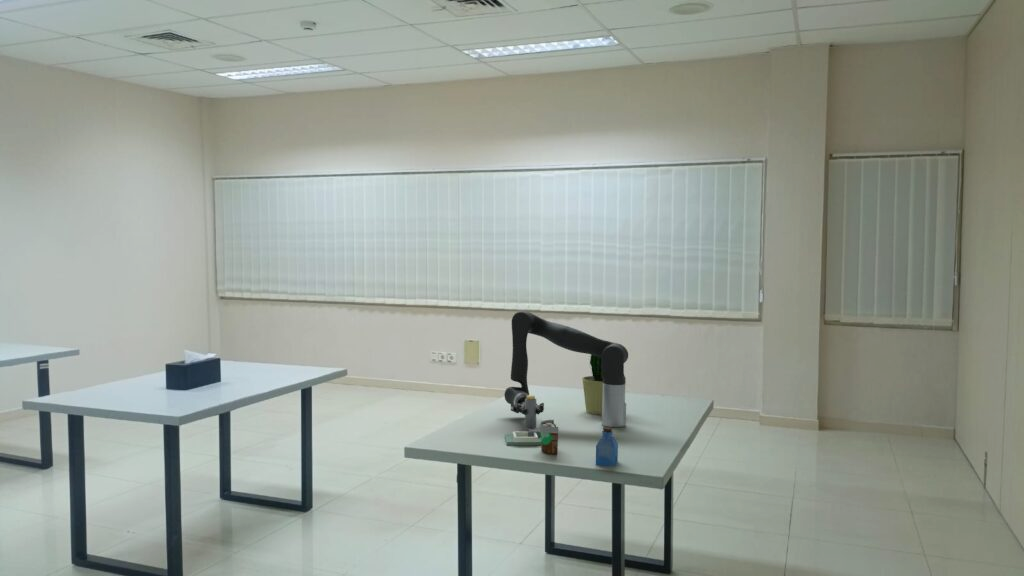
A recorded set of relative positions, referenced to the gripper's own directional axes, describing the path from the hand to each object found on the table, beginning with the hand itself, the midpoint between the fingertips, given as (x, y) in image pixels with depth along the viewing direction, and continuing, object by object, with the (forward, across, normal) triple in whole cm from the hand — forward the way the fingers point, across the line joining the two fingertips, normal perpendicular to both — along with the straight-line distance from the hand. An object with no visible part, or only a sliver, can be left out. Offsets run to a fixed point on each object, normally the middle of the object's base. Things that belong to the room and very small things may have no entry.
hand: (532, 412), depth 282 cm
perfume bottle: (+39, +18, +10) cm, 44 cm away
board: (+8, -4, +9) cm, 13 cm away
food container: (+22, +1, +10) cm, 24 cm away
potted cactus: (-39, +38, +10) cm, 55 cm away
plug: (-3, 0, +6) cm, 7 cm away
